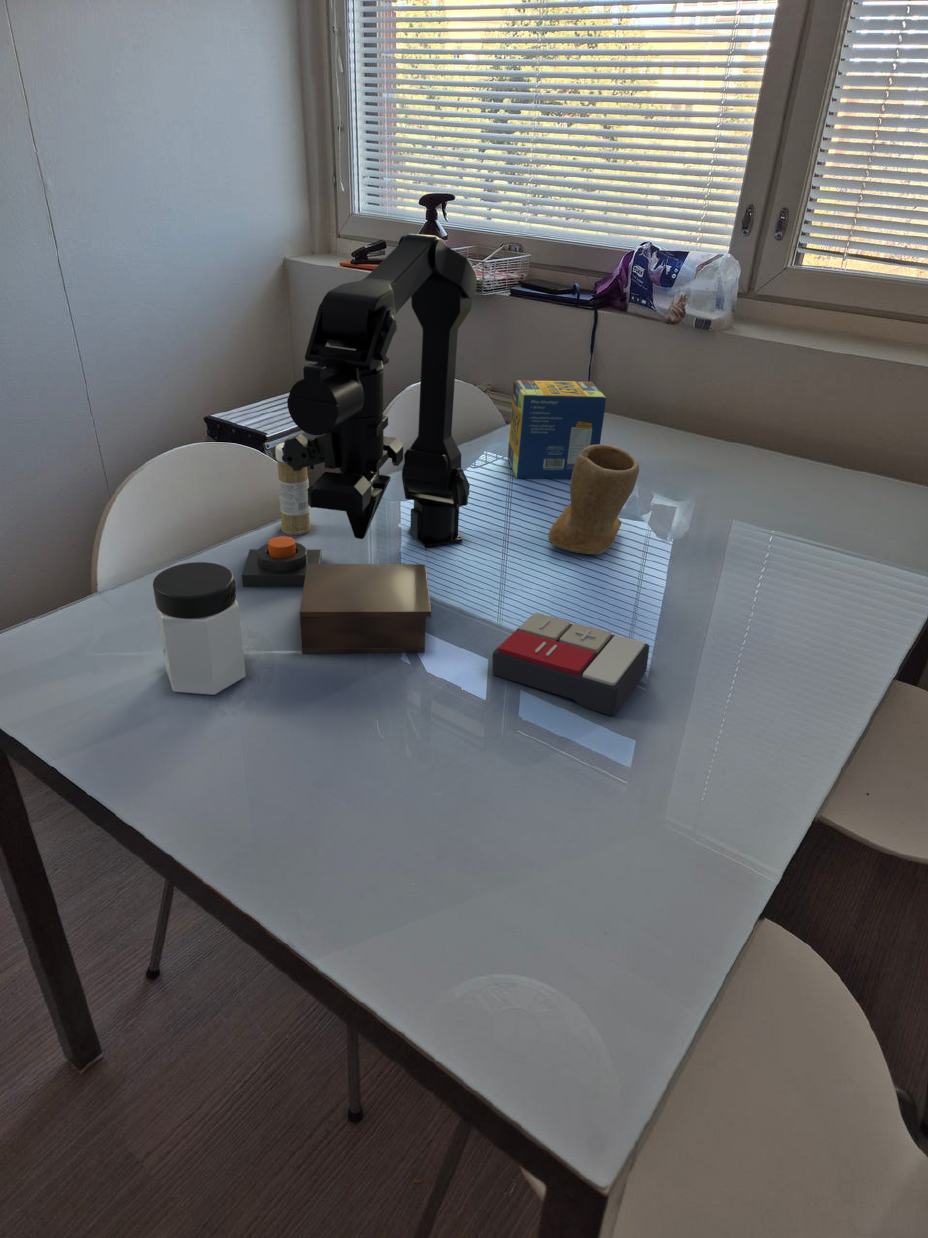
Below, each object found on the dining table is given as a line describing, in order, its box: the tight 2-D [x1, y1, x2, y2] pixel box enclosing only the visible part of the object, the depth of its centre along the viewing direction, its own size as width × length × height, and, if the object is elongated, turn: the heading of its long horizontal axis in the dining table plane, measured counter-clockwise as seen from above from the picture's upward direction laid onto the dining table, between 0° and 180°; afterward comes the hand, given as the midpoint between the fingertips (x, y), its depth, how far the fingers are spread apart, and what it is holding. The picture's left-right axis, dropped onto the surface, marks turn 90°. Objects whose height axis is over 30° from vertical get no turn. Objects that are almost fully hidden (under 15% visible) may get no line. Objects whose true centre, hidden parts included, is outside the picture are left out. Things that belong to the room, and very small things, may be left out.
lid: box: [299, 563, 432, 618], centre depth 99 cm, size 15×12×1 cm
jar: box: [152, 561, 247, 696], centre depth 88 cm, size 9×8×12 cm
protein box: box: [507, 379, 607, 480], centre depth 152 cm, size 10×15×16 cm
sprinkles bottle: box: [274, 442, 312, 536], centre depth 122 cm, size 5×5×13 cm
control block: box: [241, 542, 323, 588], centre depth 112 cm, size 10×8×4 cm
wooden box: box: [299, 616, 427, 655], centre depth 101 cm, size 14×12×5 cm
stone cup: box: [547, 443, 640, 555], centre depth 124 cm, size 15×12×15 cm
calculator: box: [491, 612, 650, 716], centre depth 94 cm, size 11×4×15 cm
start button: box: [267, 535, 296, 558], centre depth 111 cm, size 4×4×2 cm
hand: (360, 537), depth 100 cm, fingers closed
